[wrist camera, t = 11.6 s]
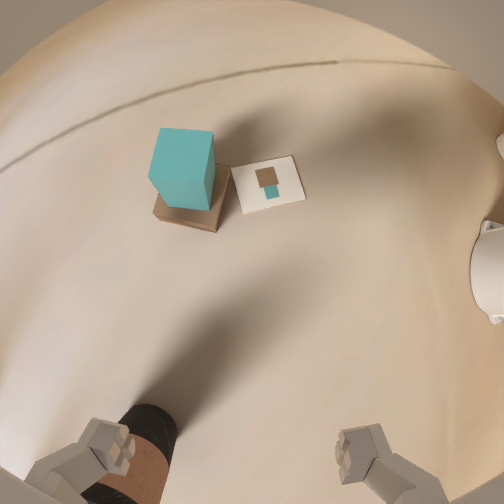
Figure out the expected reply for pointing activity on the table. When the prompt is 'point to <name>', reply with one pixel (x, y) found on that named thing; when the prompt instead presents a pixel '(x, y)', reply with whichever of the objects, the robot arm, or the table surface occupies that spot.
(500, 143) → the white cup
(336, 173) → the table surface
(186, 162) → the teal brick
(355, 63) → the table surface
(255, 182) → the page
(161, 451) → the travel mug
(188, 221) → the walnut brick
